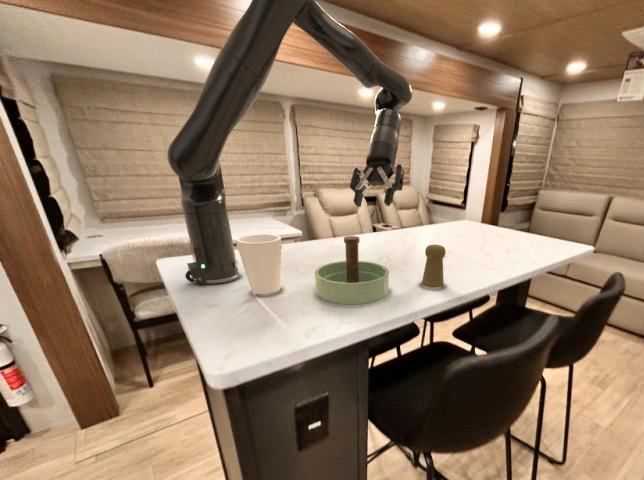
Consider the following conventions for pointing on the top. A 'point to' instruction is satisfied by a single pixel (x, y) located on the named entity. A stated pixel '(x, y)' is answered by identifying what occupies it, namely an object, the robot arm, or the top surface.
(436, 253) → the cork
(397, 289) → the top surface
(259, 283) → the foam cup
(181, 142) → the robot arm
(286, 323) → the top surface
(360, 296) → the bowl
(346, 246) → the rod
